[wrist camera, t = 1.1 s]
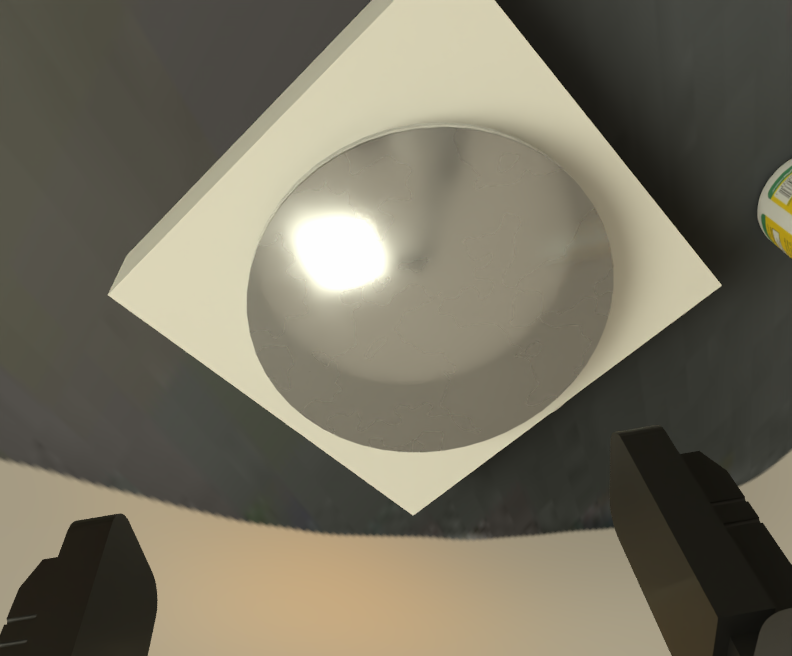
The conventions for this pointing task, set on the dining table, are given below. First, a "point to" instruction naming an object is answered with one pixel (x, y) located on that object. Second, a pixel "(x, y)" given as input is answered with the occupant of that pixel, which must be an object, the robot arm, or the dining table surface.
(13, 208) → the dining table surface
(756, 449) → the dining table surface
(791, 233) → the supplement bottle
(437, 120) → the scale base
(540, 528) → the dining table surface
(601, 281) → the scale pan
